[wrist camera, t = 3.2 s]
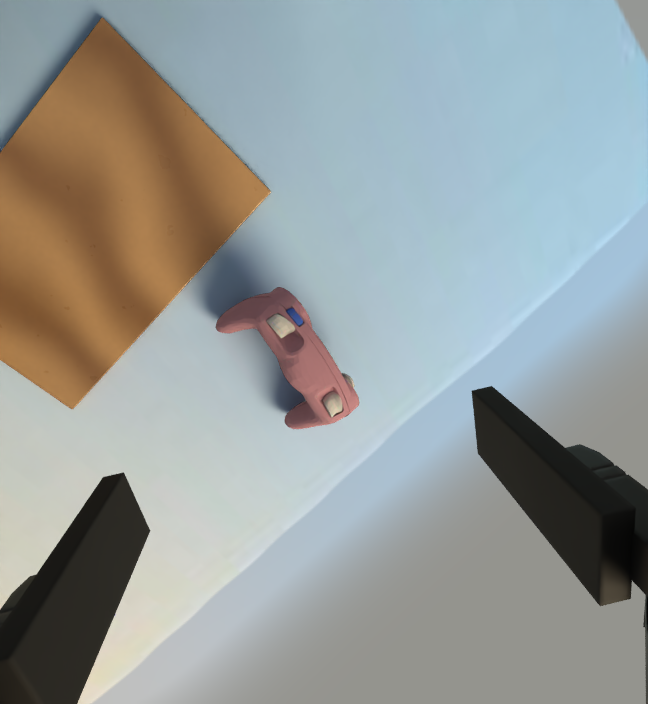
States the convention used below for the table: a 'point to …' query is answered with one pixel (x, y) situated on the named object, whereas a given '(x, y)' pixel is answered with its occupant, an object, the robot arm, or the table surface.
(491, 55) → the table surface
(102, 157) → the cork mat
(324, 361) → the video game controller
